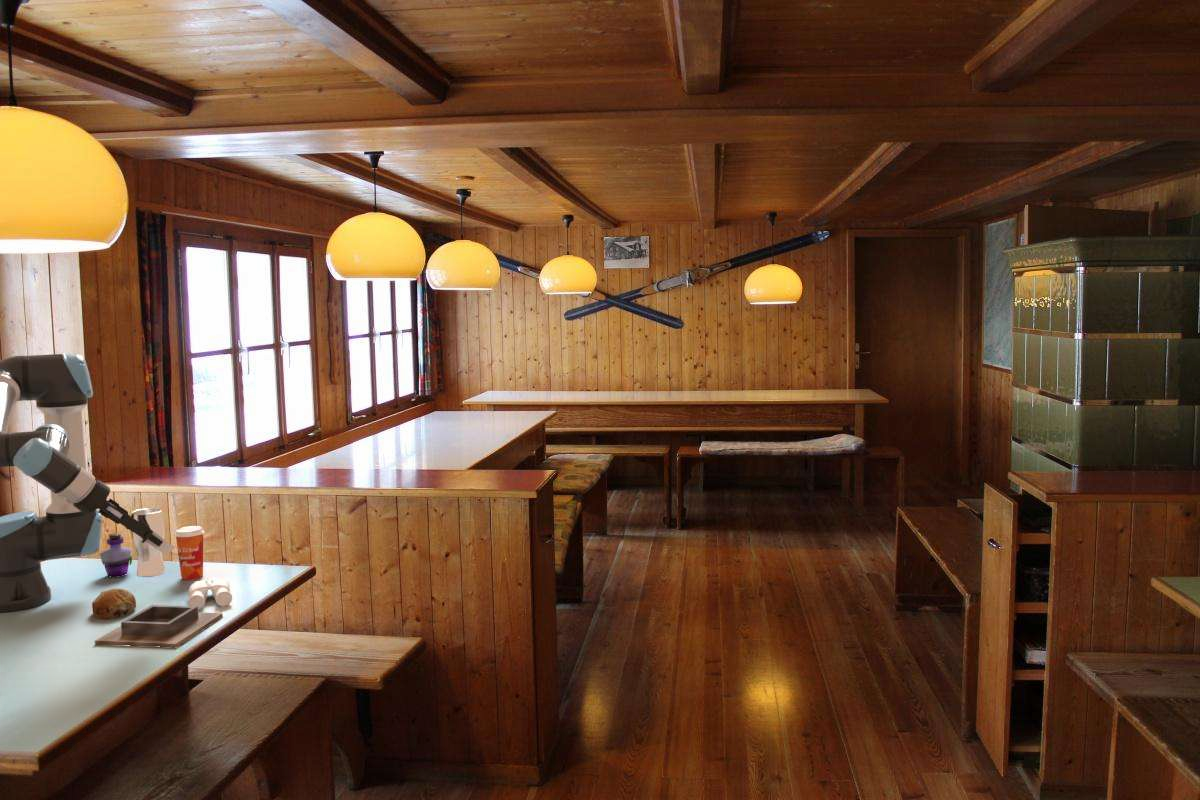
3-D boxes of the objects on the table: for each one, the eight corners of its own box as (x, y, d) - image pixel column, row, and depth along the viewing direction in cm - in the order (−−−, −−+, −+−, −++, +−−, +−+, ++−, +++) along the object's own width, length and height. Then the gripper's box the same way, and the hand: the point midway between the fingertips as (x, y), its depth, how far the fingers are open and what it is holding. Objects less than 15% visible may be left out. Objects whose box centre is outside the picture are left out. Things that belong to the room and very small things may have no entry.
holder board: (95, 644, 213) (93, 628, 212) (148, 614, 232) (146, 599, 232) (176, 648, 210) (174, 631, 210) (222, 617, 230) (221, 601, 229)
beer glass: (158, 578, 214) (153, 514, 212) (128, 577, 214) (124, 514, 212) (172, 568, 221) (168, 507, 219) (144, 568, 221) (140, 507, 219)
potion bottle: (138, 574, 265) (135, 533, 264) (106, 581, 260) (102, 539, 258) (129, 568, 272) (126, 528, 270) (96, 574, 266) (93, 534, 264)
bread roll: (138, 619, 239) (137, 589, 242) (134, 614, 230) (133, 582, 232) (95, 625, 235) (94, 594, 238) (89, 620, 226) (88, 588, 229)
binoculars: (188, 612, 234) (187, 594, 234) (188, 593, 249) (187, 577, 248) (232, 606, 239) (231, 589, 238) (230, 588, 253) (229, 572, 253)
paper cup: (172, 581, 259) (169, 532, 257) (185, 572, 267) (182, 525, 265) (199, 581, 259) (196, 532, 257) (212, 572, 266) (209, 525, 265)
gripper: (61, 497, 212) (141, 552, 225) (83, 512, 198) (167, 570, 211) (85, 471, 215) (163, 526, 228) (108, 484, 201) (190, 543, 213)
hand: (165, 547), depth 219 cm, fingers closed on beer glass, 7 cm apart
